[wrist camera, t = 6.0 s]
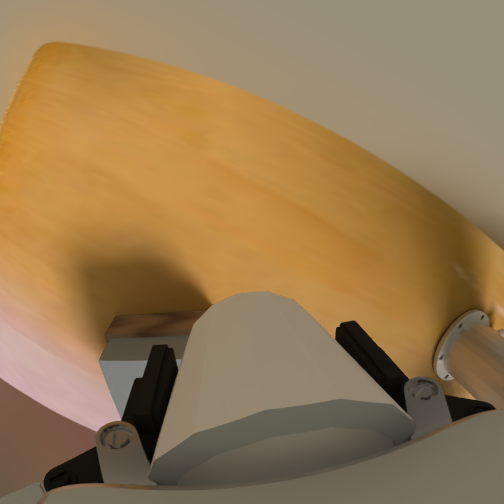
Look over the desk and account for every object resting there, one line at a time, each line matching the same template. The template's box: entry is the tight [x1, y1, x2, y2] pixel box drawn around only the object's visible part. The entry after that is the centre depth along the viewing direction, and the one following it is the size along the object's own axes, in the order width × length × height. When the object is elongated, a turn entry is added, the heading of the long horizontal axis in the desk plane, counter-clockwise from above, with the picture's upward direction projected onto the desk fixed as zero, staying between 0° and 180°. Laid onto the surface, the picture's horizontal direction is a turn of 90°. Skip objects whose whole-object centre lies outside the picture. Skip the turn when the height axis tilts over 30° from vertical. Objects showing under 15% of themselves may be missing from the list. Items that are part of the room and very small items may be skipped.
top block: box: [99, 335, 190, 419], centre depth 26 cm, size 10×10×4 cm
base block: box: [105, 310, 207, 342], centre depth 30 cm, size 11×11×4 cm
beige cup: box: [148, 291, 416, 486], centre depth 9 cm, size 7×7×7 cm
